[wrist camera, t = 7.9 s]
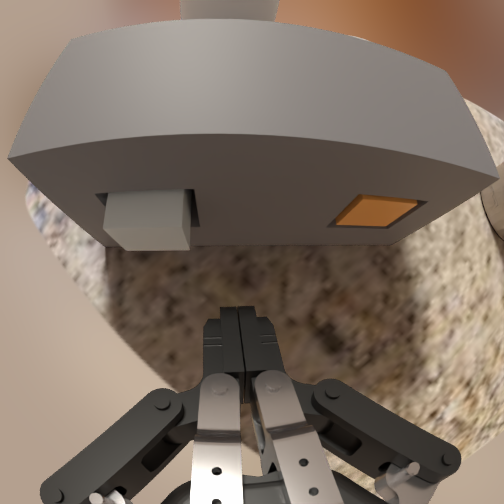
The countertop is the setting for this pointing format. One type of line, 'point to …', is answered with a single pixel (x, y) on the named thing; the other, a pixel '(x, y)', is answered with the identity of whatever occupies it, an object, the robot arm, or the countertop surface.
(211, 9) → the mug
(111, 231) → the white cube
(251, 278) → the countertop surface
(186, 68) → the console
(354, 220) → the orange button
